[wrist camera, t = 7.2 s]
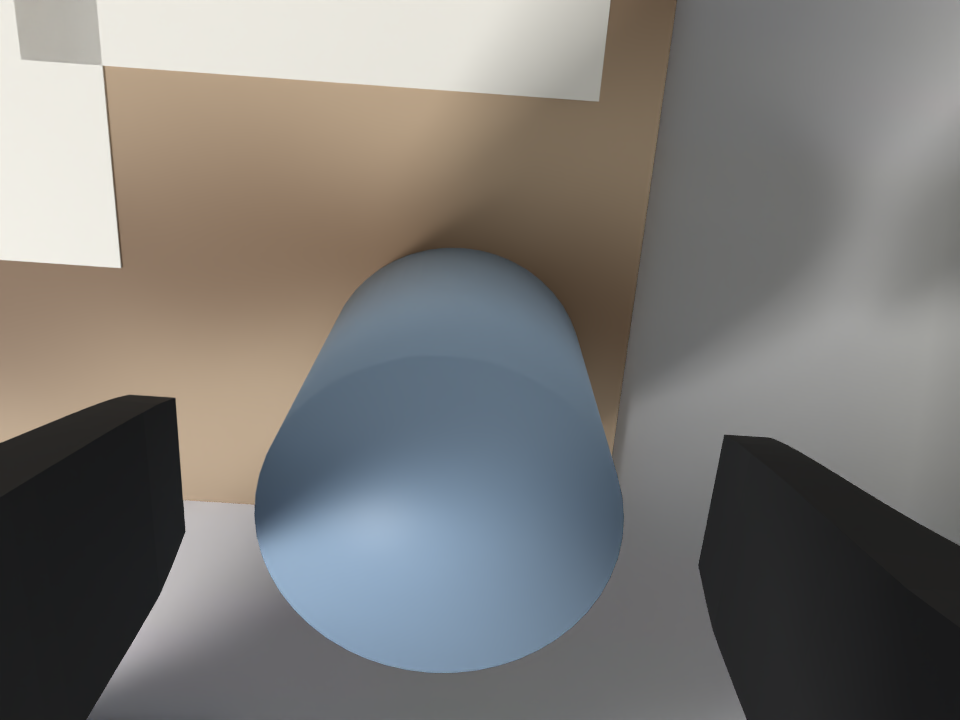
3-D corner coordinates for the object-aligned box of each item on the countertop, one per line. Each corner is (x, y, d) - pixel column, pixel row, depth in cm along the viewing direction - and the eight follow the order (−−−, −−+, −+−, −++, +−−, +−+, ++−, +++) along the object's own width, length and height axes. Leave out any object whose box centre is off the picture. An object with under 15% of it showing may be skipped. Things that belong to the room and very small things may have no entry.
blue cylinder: (566, 490, 16) (600, 682, 11) (327, 474, 16) (259, 662, 11) (595, 257, 14) (648, 368, 9) (327, 238, 14) (248, 342, 9)
